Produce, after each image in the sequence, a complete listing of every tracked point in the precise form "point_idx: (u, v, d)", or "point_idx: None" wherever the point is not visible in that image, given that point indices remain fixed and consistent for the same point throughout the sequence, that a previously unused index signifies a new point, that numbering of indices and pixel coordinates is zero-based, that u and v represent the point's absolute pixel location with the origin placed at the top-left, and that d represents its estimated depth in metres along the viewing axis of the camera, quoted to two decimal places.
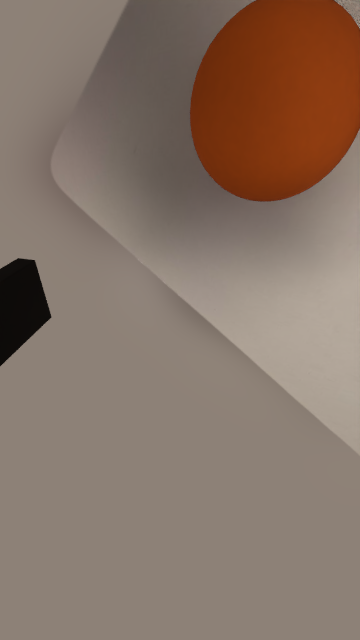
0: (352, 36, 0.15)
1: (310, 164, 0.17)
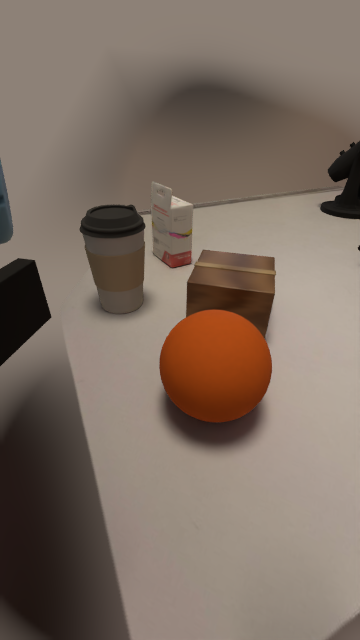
0: None
1: (250, 323, 0.29)
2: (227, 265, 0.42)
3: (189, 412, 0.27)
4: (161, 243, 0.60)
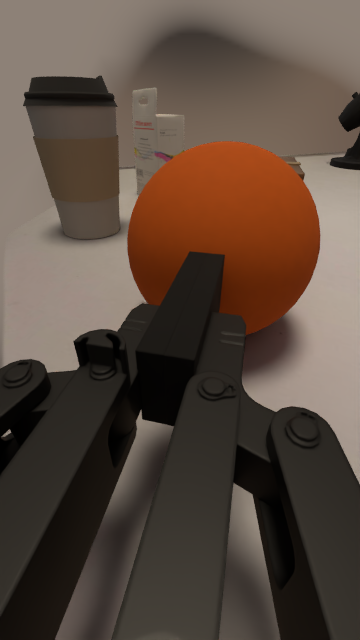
0: None
1: None
2: None
3: None
4: (145, 174, 0.48)
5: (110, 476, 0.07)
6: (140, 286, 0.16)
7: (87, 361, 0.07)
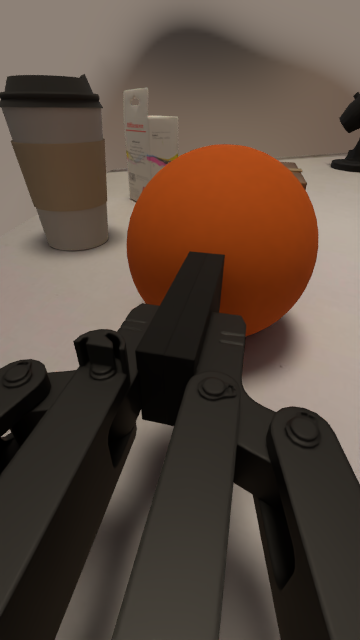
0: None
1: None
2: None
3: None
4: (138, 178, 0.46)
5: (110, 476, 0.07)
6: (137, 273, 0.16)
7: (87, 361, 0.07)
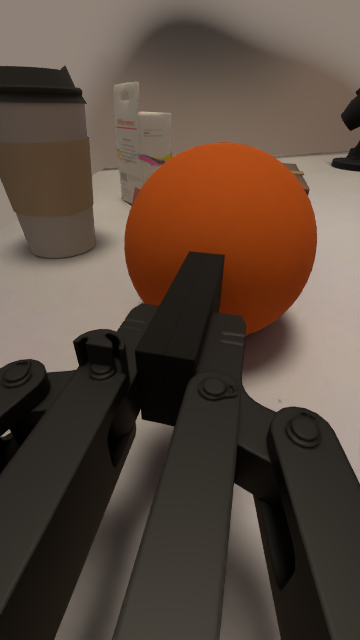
0: None
1: None
2: None
3: (176, 271, 0.14)
4: (129, 178, 0.43)
5: (110, 476, 0.07)
6: (135, 260, 0.15)
7: (87, 361, 0.07)
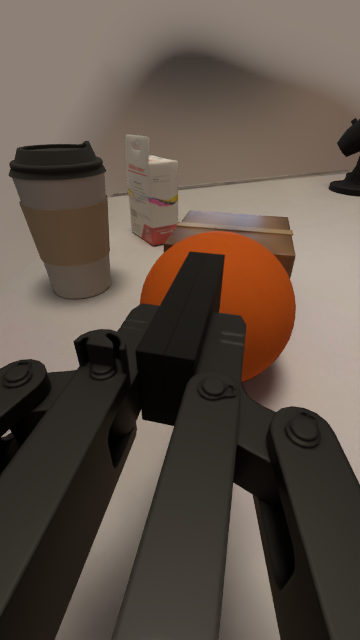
0: None
1: None
2: (222, 225, 0.30)
3: None
4: (139, 215, 0.48)
5: (110, 476, 0.07)
6: None
7: (87, 361, 0.07)
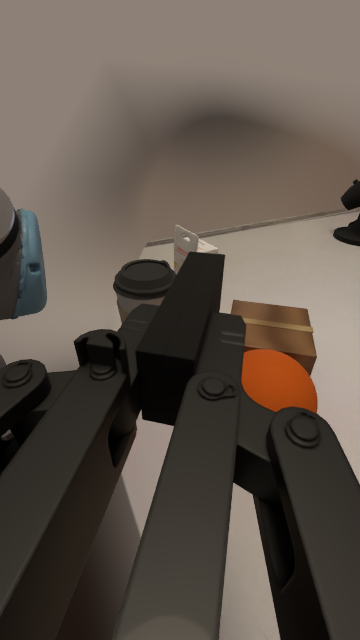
0: None
1: None
2: (261, 320, 0.42)
3: None
4: None
5: (110, 476, 0.07)
6: None
7: (87, 361, 0.07)
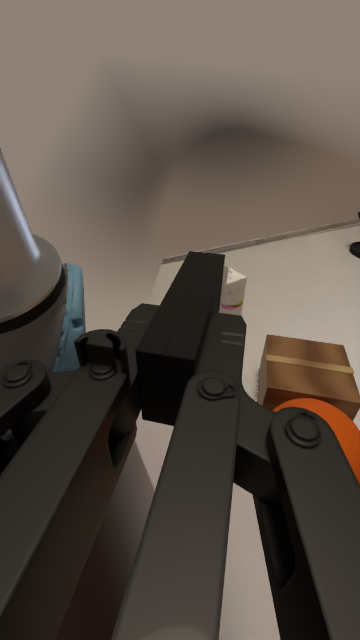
0: None
1: None
2: (300, 359, 0.41)
3: None
4: None
5: (110, 476, 0.07)
6: None
7: (87, 361, 0.07)
